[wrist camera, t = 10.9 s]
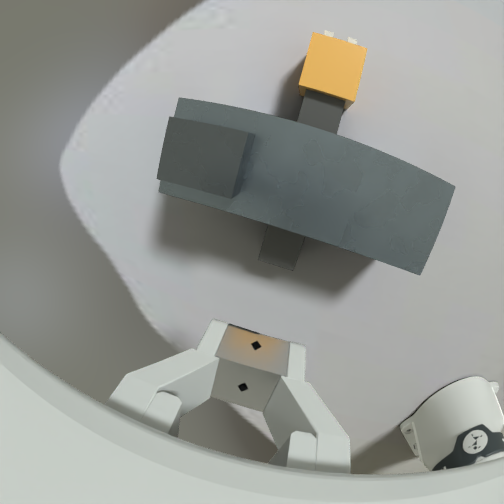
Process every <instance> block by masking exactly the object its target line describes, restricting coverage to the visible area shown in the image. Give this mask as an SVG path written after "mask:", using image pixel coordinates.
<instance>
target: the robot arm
mask: <svg viewBox="0 0 504 504" xmlns="http://www.w3.org/2000/svg"><path fill="white" fill-rule="evenodd" d="M305 361H306V346H305V345H304V344H299V343H295V342H291V341H290V342H289V341H285V340H281V339H278V338H274V337H270V336H267V335H263V334H260V333H257V332H254V331H251V330H248V329H245V328H242V327H239V326H236V325H233V324H230V323H229V324H228V323H226V322H223V321H220V320H217V319H212V320H211V322H210V324H209V326H208V328H207V330H206V332H205V333H204V335H203V337H202V339H201V341H200V343H199V345H198V347H197V349H196V350H194V349H189V350H186V351H184V352H181V353H179V354H177V355H174V356H172V357H169V358H167V359H164V360H162V361H159V362H157V363H154V364H152V365H149V366H146V367H143V368H141V369H138V370H136V371H133V372H130V373H127V374H126V375H125V377H124V378H123V379H122V381H121V382H120V384H119V385H118V386H117V388H116V389H115V391H114V392H113V393H112V395H111V396H110V397H109V399H108V400H107V402H106V403H105V404H102V403H100V402H99V401H97V400H95V399H93V398H92V397H90V396H88V395H86V394H85V393H83V392H81V391H80V390H78V389H76V388H75V387H73V386H72V385H70V384H69V383H67V382H65V381H64V380H62V379H61V378H59V377H58V376H57V375H55V374H54V373H52V372H51V371H49V370H48V369H46V368H45V367H43V366H42V365H41V364H40V363H38V362H37V361H35V360H34V359H33V358H31V357H30V356H29V355H28V354H26V353H25V352H24V351H23V350H21V349H20V348H19V347H18V346H16V345H15V344H14V343H13V342H12V341H11V340H9V339H8V338H7V337H6V336H5V335H4V334H2V333H1V332H0V504H504V437H503V434H502V433H501V429H502V428H503V425H504V416H503V413H502V410H501V407H500V405H499V402H498V400H497V397H496V393H497V391H498V389H499V386H498V383H497V382H488V381H486V380H485V379H484V378H482V377H469V378H465V379H462V380H459V381H456V382H454V383H452V384H450V385H448V386H446V387H445V388H443V389H441V390H440V391H438V392H437V393H435V394H434V395H433V396H431V397H430V398H429V399H428V400H427V401H426V402H425V403H424V404H423V405H422V406H421V407H420V408H419V409H418V410H417V412H416V413H415V414H414V415H413V416H411V417H410V418H408V419H407V420H405V421H404V422H403V423H402V424H401V425H400V429H401V432H402V433H403V435H404V437H405V439H406V440H407V442H408V444H409V446H410V448H411V449H412V451H413V453H414V455H415V456H419V458H420V461H421V462H423V463H424V465H425V466H426V468H427V469H428V470H429V472H419V473H406V474H351V462H350V438H349V437H348V435H347V434H346V432H345V431H344V430H343V428H342V427H341V426H340V424H339V423H338V422H337V420H336V419H335V418H334V416H333V415H332V413H331V412H330V411H329V409H328V408H327V407H326V405H325V404H324V402H323V401H322V400H321V398H320V397H319V395H318V394H317V393H316V391H315V390H314V388H313V387H312V386H311V384H310V383H309V382H305ZM210 397H213V398H216V399H219V400H223V401H226V402H230V403H234V404H237V405H241V406H244V407H247V408H250V409H254V410H257V411H261V412H263V415H264V418H265V420H266V422H267V425H268V427H269V430H270V432H271V434H272V437H273V439H274V441H275V443H276V446H277V448H278V451H277V453H276V454H275V455H274V457H273V458H272V459H271V460H270V461H269V462H268V464H267V463H262V462H257V461H253V460H249V459H245V458H240V457H236V456H233V455H229V454H225V453H222V452H218V451H215V450H211V449H209V448H205V447H202V446H199V445H196V444H193V443H190V442H188V441H185V440H182V439H179V438H178V433H179V423H180V417H182V416H183V415H185V414H187V413H188V412H190V411H191V410H193V409H194V408H196V407H197V406H199V405H200V404H202V403H203V402H205V401H206V400H208V399H209V398H210Z"/></svg>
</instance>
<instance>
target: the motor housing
mask: <svg viewBox="0 0 504 504" xmlns="http://www.w3.org/2000/svg"><path fill="white" fill-rule="evenodd" d="M157 179H159V180H161V181H160V187H159V192H160V193H164V194H167V195H171V196H174V197H178V198H182V199H185V200H189V201H192V202H196V203H199V204H203V205H206V206H209V207H213V208H216V209H220V210H223V211H226V212H230V213H233V214H236V215H240V216H243V217H246V218H250V219H253V220H256V221H259V222H263V223H266V224H269V225H272V226H275V227H279V228H282V229H285V230H288V231H291V232H294V233H298V234H301V235H304V236H307V237H310V238H313V239H316V240H319V241H322V242H325V243H328V244H331V245H334V246H337V247H340V248H343V249H346V250H349V251H352V252H355V253H358V254H361V255H364V256H367V257H369V258H372V259H375V260H378V261H381V262H384V263H387V264H389V265H392V266H395V267H398V268H401V269H403V270H406V271H409V272H412V273H415V274H417V275H420V274H421V272H422V270H423V268H424V266H425V264H426V262H427V259H428V257H429V255H430V253H431V250H432V248H433V246H434V243H435V241H436V239H437V236H438V234H439V231H440V229H441V226H442V224H443V221H444V218H445V216H446V213H447V210H448V207H449V205H450V202H451V199H452V196H453V193H454V190H455V186H453V185H451V184H450V183H448V182H446V181H444V180H442V179H440V178H438V177H436V176H434V175H432V174H430V173H428V172H426V171H424V170H422V169H420V168H418V167H416V166H414V165H412V164H409V163H407V162H405V161H403V160H400V159H398V158H396V157H394V156H391V155H389V154H387V153H384V152H382V151H379V150H377V149H374V148H372V147H369V146H367V145H364V144H362V143H359V142H356V141H353V140H351V139H348V138H345V137H342V136H339V135H337V134H334V133H331V132H328V131H325V130H322V129H318V128H315V127H312V126H309V125H305V124H302V123H299V122H295V121H291V120H288V119H284V118H280V117H277V116H273V115H269V114H265V113H261V112H256V111H252V110H247V109H243V108H238V107H233V106H228V105H223V104H217V103H212V102H206V101H200V100H193V99H186V98H179V99H178V103H177V107H176V111H175V115H174V117H169V121H168V125H167V129H166V134H165V138H164V143H163V148H162V153H161V158H160V163H159V168H158V174H157Z"/></svg>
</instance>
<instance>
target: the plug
mask: <svg viewBox="0 0 504 504" xmlns="http://www.w3.org/2000/svg"><path fill="white" fill-rule="evenodd" d="M333 37H334V33H333V32H329V31H325V32H324V35H322V34H318V33H314V32H313V34H312V38H311V41H310V45H309V48H308V52H307V56H306V59H305V63H304V67H303V70H302V74H301V77H300V81H299V93H300V95H301V96H304V99H303V102H302V106H301V110H300V113H299V117H298V121H297V122H299V123H302V124H305V125H309V126H312V127H315V128H318V129H322V130H325V131H328V132H331V133H334V134H337V131H338V127H339V123H340V120H341V116H342V113H343V109H348V108H349V107H350V106H351V105H352V104H353V103H354V102H355V98H356V94H357V90H358V86H359V82H360V78H361V74H362V70H363V65H364V61H365V57H366V52H367V48H364V47H361V46H359V45H356V44H357V40H355V39H352V38H349V37H348V39H347V42H346V41H343V40H340V39H337V38H333ZM304 238H305V236H304V235H301V234H298V233H294V232H291V231H288V230H285V229H282V228H279V227H275V226H272V225H269V224H268V227H267V231H266V234H265V237H264V241H263V244H262V248H261V251H260V255H259V258H258V260H260V261H263V262H266V263H269V264H273V265H276V266H279V267H282V268H286V269H289V270H292V271H293V270H294V267H295V264H296V261H297V258H298V256H299V253H300V250H301V247H302V244H303V241H304Z"/></svg>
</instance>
